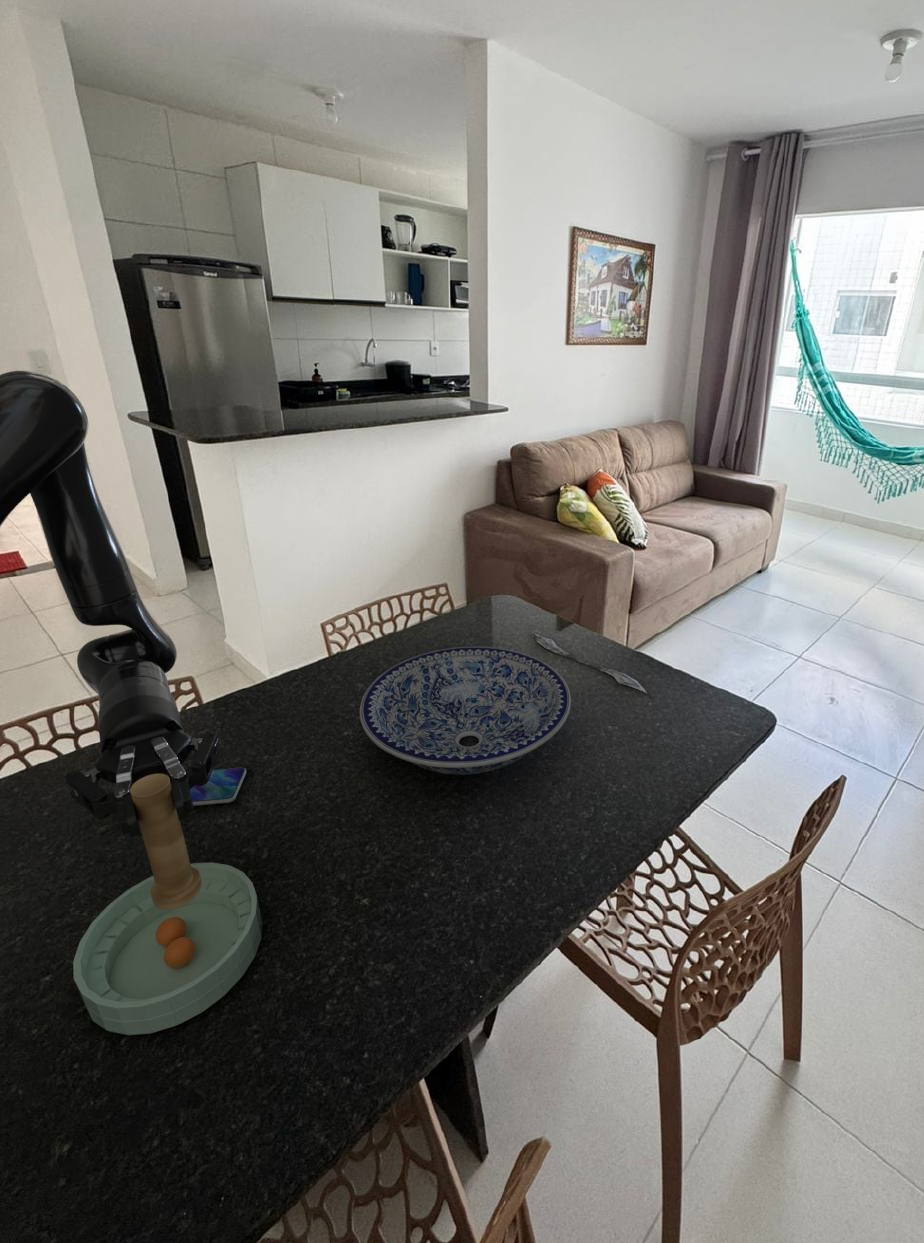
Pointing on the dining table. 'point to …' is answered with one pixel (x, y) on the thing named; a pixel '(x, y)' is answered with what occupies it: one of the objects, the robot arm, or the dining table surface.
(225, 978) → the pale green shallow dish
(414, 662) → the ceramic bowl
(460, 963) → the dining table surface
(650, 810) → the dining table surface
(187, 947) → the bead
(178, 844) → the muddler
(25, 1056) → the dining table surface
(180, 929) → the bead
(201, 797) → the smartphone
